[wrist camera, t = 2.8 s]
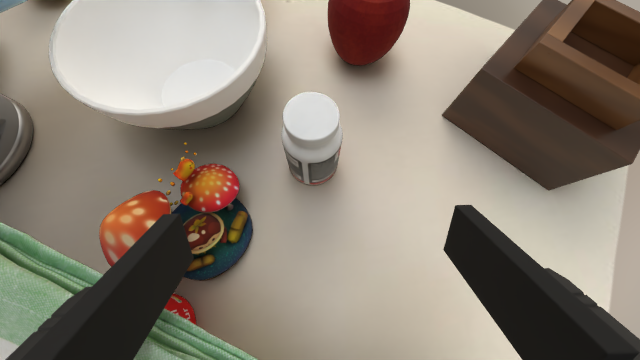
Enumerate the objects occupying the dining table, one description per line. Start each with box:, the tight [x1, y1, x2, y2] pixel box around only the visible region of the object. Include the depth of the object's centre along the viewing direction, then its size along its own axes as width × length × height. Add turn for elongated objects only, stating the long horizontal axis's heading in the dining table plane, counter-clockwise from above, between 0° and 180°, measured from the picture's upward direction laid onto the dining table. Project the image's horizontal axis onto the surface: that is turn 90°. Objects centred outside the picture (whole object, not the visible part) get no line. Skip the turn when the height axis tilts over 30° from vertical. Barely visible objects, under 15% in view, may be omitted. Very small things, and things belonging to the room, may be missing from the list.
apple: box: [328, 0, 410, 65], centre depth 30 cm, size 10×10×10 cm
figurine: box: [99, 142, 253, 280], centre depth 22 cm, size 12×9×8 cm
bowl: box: [49, 0, 267, 130], centre depth 27 cm, size 20×20×10 cm
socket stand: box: [442, 0, 640, 190], centre depth 27 cm, size 15×15×11 cm
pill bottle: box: [282, 92, 343, 185], centre depth 24 cm, size 6×6×10 cm
